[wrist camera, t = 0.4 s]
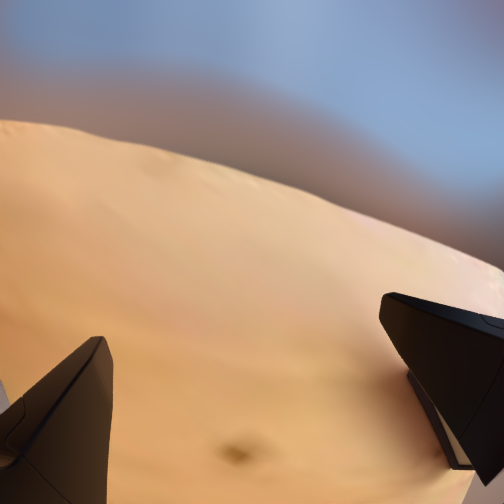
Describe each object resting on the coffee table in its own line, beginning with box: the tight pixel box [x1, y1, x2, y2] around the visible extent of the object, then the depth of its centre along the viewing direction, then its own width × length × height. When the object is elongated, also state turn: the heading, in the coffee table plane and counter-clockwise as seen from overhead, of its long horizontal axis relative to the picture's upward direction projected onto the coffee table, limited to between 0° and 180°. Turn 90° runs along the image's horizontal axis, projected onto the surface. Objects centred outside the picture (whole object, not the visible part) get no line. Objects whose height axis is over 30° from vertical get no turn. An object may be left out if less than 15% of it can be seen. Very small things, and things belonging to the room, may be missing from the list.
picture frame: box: [408, 371, 475, 470], centre depth 24 cm, size 23×9×15 cm, turn 36°
